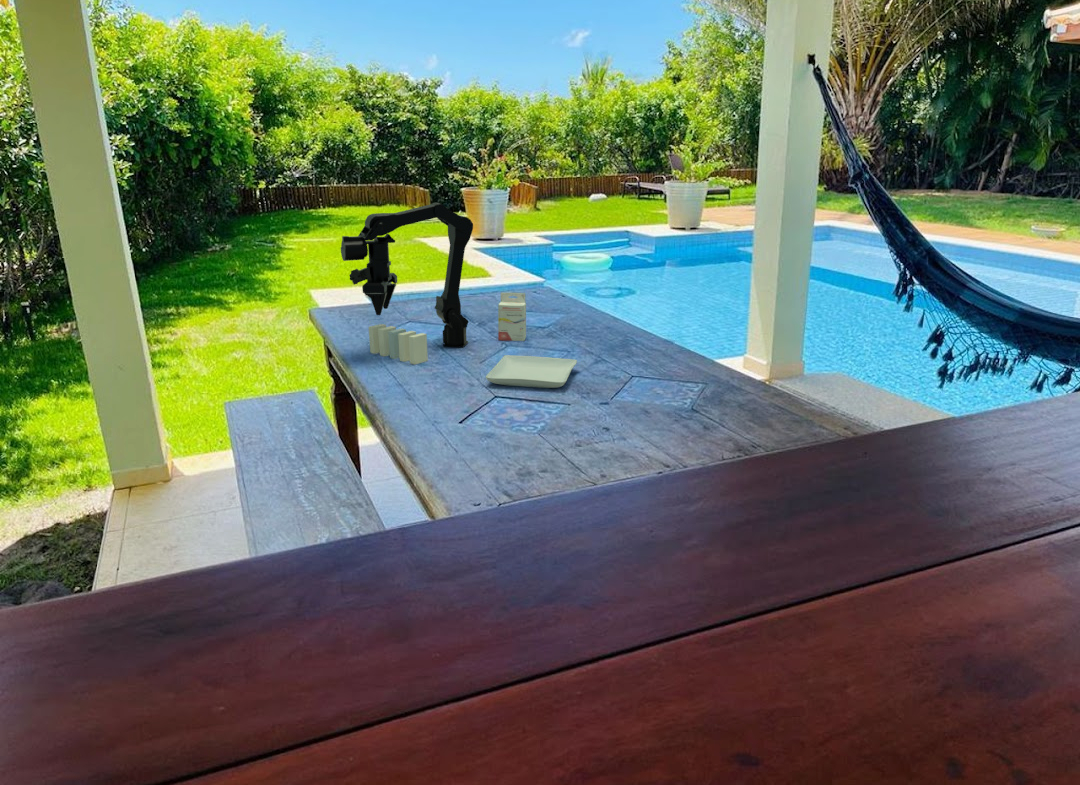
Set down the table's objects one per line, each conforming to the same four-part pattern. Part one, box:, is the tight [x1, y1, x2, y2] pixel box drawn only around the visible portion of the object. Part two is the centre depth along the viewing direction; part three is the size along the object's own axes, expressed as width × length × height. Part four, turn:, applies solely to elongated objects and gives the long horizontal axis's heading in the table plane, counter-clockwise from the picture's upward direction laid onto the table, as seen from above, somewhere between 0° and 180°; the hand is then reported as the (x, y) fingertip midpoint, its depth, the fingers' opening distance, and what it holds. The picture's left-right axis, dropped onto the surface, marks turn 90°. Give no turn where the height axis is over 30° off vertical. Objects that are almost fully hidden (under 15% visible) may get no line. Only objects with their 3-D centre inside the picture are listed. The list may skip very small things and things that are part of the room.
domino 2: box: [378, 325, 397, 357], centre depth 229 cm, size 2×5×8 cm, turn 140°
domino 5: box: [409, 332, 429, 366], centre depth 221 cm, size 2×5×8 cm, turn 140°
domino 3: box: [388, 328, 407, 360], centre depth 226 cm, size 2×5×8 cm, turn 140°
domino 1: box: [368, 323, 387, 355], centre depth 231 cm, size 2×5×8 cm, turn 140°
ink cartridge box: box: [497, 292, 527, 342], centre depth 245 cm, size 9×5×15 cm, turn 84°
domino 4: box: [398, 330, 417, 363], centre depth 223 cm, size 2×5×8 cm, turn 140°
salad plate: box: [485, 354, 578, 389], centre depth 207 cm, size 21×21×3 cm
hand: (382, 311), depth 227 cm, fingers open, 9 cm apart
